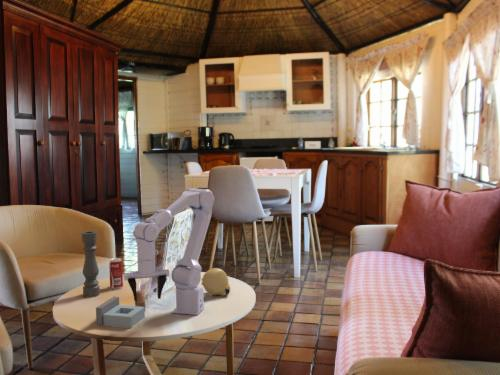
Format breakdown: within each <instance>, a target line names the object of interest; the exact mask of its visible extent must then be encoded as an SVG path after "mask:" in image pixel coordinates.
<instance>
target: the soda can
mask: <svg viewBox="0 0 500 375" xmlns="http://www.w3.org/2000/svg"><path fill="white" fill-rule="evenodd" d="M109 260H110V261H109V265H108V266H109V288H110V289H112V290H120V289H122V288H123V287H124V273H123V272H124V271H123V269H124V268H123V266H124V265H123V260H122V258H121V257H113V258H110V259H109Z"/></svg>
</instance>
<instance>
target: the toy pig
mask: <svg viewBox="0 0 500 375" xmlns="http://www.w3.org/2000/svg"><path fill="white" fill-rule="evenodd" d="M200 284H201V286H203V290H205V291H206V292H207V293H206V295H207V296H208V297H210V296H221V297H222V296H223V297H224V296H227V295H230V291H231V285H230V284H229V278H228V275H227V273H226V272H225V271H224V270H223V269H221V268H218V267H213V268H210V269H209V270H207V271H206V272H205V273H204V274H203V276H202V278H201V282H200Z"/></svg>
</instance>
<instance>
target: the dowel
mask: <svg viewBox="0 0 500 375" xmlns="http://www.w3.org/2000/svg"><path fill="white" fill-rule="evenodd" d="M136 294H137V301H134V306H139V307H145V308H146V291H145V290H136Z"/></svg>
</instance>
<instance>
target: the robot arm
mask: <svg viewBox="0 0 500 375" xmlns="http://www.w3.org/2000/svg"><path fill="white" fill-rule="evenodd" d="M214 203H215V196H214V194H213V192H212V190H210V189H206V188H205V189H203V188H193V187H188V188H187V189H186V190H184V191H182V194H181V196H180V197H179V198H177V199H176V200H175V201H174V202H172V204H170V205H169V206H168V207H167V208H166V209H164V208H160V209H159V208H158V209H157V210H155V213H153V214H152V215H151V216H150V217H147V218H146V219H145V221H140V222H138V223H137V224H135V227H134V229H133V231H132V234H133V237H134V238H135V240H136V241H135V243H136V246H137V252H136V253H137V270H136V271H131V272H124V273H123V281H127V283H128V286H129V287H130V289H131V291H132V293H133V294H132V295H133V300H134V302H135V301H137V294H136V291H137V281H136V280H137V279H150V278H157V279H156V280H157V281H156V282H157V292H156V293H157V299H158V300H161V298H162V293H163V289H164V286H165V284H166V282H167V277H170V276H171V277H170V278H171V280H172V282H173V283H174V286H175V308H174V309H173V311H172V312H171V313H172V314H181V315H193V316H198V315H199V314H200V313H201V312H202V311H203V309H205V306H204V304H205V303H204V301H205V300H204V287H201V286H198V285H199V284H200V283H201V281H202V278H201V277H202V276H201V275H202V270H203V269H202V266H201V265H200V263H199V259H200V255H201V252H202V248H203V245H204V242H205V239H206V235H207V232H208V229H209V225H210V222H211V218H212V213H213V206H214ZM186 208H190V210H191V211H192V212H193V213H194V215H195V217H194V221H193V224H192V226H191V230H190V233H189V236H188V240H187V244H186V245H185V246H186V248H185V249H184V254H183V256H182V258H180V259H179V260H177V262H176V265H175V267H173V269H172V270H171V273H170V270H169V269H156V240H157V239H158V237H159V235H160V233H161V231H162V230H164V229H165V228H166V227H167V226H169V225H170V224H171V223H172V222H173V217H175V216H177V215H178V214H180V212H182V211H183V210H185V209H186Z"/></svg>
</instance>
